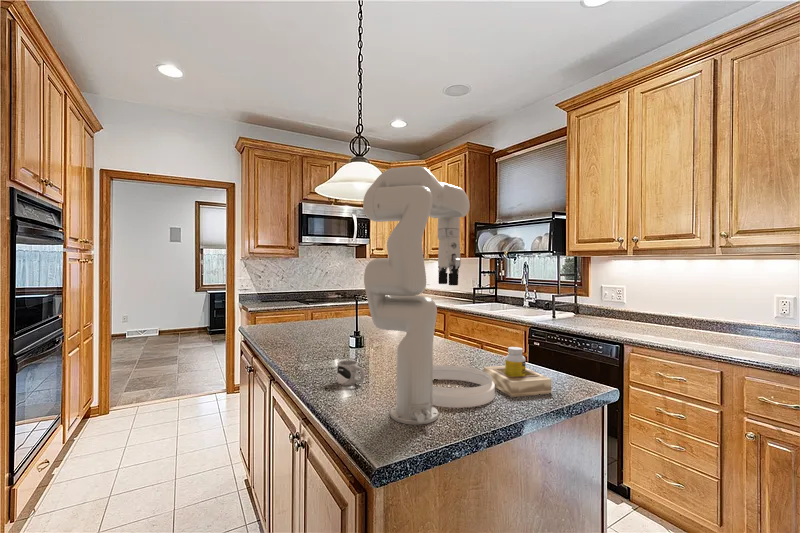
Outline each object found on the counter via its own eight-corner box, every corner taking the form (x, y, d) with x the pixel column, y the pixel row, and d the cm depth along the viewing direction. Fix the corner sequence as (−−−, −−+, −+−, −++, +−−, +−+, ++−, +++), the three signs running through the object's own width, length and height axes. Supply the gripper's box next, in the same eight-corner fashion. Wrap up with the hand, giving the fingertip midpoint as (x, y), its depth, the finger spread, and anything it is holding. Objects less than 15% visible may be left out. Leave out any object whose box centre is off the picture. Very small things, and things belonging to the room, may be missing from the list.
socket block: (551, 393, 122) (551, 378, 122) (511, 397, 118) (511, 381, 118) (519, 377, 139) (519, 364, 139) (483, 380, 136) (483, 366, 136)
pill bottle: (521, 387, 124) (521, 351, 124) (501, 383, 128) (502, 348, 128) (528, 382, 129) (528, 347, 129) (509, 379, 133) (509, 345, 133)
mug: (333, 383, 130) (333, 363, 130) (345, 378, 136) (345, 359, 136) (357, 388, 125) (358, 367, 125) (369, 383, 131) (369, 363, 131)
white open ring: (496, 412, 107) (496, 392, 107) (400, 404, 112) (400, 385, 112) (493, 383, 133) (493, 367, 133) (415, 377, 139) (415, 362, 139)
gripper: (469, 233, 127) (468, 285, 127) (449, 237, 144) (448, 283, 144) (447, 232, 125) (446, 285, 125) (430, 236, 142) (429, 283, 142)
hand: (447, 284), depth 135 cm, fingers open, 9 cm apart
